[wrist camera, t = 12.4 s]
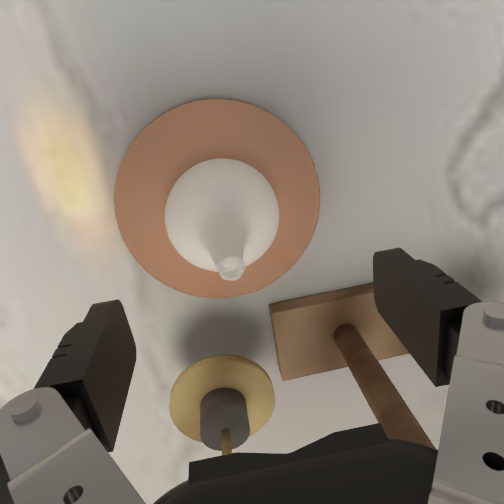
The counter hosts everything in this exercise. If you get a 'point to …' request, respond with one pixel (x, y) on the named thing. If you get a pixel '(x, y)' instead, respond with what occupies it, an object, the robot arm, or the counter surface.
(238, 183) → the garlic bulb
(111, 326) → the robot arm
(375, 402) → the balance
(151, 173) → the dish
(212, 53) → the counter surface
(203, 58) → the counter surface
